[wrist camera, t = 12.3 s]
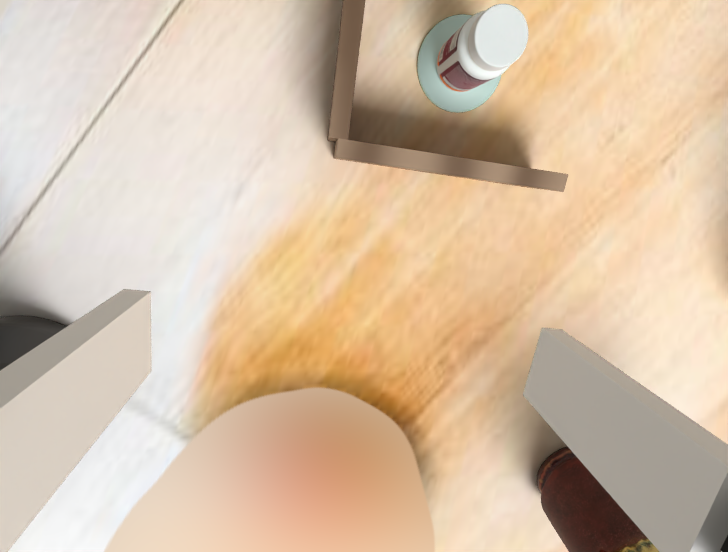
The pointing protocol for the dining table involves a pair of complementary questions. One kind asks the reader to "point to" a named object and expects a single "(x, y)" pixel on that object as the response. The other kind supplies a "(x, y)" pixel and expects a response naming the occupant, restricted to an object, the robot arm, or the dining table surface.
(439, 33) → the disc
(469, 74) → the pill bottle
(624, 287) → the dining table surface
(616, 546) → the vase
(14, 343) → the robot arm
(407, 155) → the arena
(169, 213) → the dining table surface
